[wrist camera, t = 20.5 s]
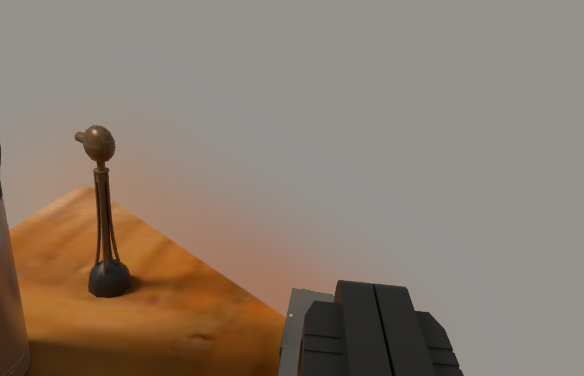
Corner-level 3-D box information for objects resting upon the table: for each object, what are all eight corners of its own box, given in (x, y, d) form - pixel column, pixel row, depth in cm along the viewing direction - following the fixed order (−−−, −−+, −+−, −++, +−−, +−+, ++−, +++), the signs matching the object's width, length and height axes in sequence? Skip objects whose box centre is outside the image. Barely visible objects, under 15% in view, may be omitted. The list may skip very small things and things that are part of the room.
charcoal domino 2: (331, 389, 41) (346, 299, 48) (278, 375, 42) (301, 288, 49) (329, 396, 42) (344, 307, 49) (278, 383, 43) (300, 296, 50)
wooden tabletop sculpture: (75, 281, 54) (57, 121, 46) (109, 266, 58) (98, 114, 50) (105, 302, 51) (91, 135, 43) (138, 284, 55) (132, 127, 47)
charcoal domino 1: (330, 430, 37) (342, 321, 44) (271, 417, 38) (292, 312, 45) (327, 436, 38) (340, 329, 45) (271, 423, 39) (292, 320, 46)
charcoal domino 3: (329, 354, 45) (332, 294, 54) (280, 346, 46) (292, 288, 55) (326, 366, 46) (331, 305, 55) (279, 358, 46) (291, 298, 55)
